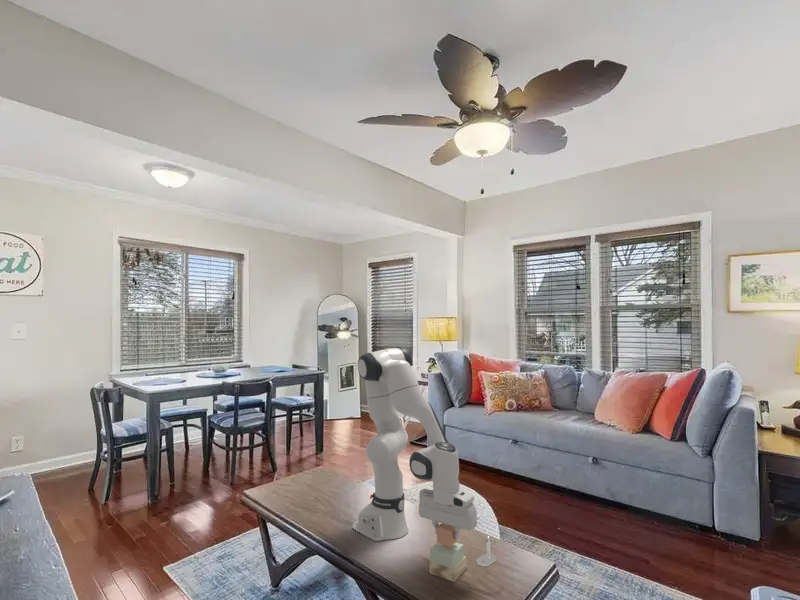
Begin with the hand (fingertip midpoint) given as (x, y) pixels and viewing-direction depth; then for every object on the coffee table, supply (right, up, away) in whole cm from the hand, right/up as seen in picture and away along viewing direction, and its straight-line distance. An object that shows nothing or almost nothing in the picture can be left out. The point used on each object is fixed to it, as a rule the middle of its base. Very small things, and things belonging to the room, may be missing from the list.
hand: (447, 536), depth 144 cm
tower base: (0, -11, -1) cm, 11 cm away
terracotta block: (0, -2, 0) cm, 2 cm away
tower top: (0, -7, -1) cm, 7 cm away
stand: (+14, -11, +5) cm, 18 cm away
